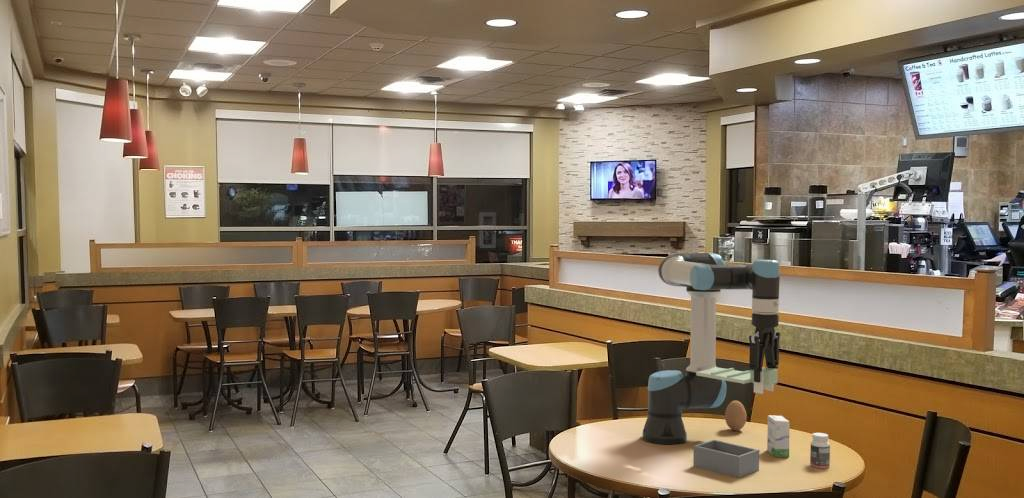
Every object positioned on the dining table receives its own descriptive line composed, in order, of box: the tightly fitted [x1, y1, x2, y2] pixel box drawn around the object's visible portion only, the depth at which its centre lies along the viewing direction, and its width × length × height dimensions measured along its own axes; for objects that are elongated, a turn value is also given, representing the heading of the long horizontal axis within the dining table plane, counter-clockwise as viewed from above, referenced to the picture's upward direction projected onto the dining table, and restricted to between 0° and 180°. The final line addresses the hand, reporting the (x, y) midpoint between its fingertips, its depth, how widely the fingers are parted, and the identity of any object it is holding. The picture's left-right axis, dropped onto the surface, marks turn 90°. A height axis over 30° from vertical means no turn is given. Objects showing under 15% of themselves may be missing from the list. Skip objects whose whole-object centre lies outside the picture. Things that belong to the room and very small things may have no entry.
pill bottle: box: [809, 432, 831, 469], centre depth 264 cm, size 6×6×10 cm
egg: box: [724, 400, 747, 432], centre depth 308 cm, size 8×8×11 cm
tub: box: [692, 439, 760, 479], centre depth 259 cm, size 16×11×7 cm
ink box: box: [766, 414, 791, 458], centre depth 278 cm, size 8×5×12 cm, turn 0°
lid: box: [696, 366, 779, 386], centre depth 255 cm, size 23×12×4 cm, turn 43°
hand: (763, 391), depth 249 cm, fingers closed on lid, 5 cm apart
